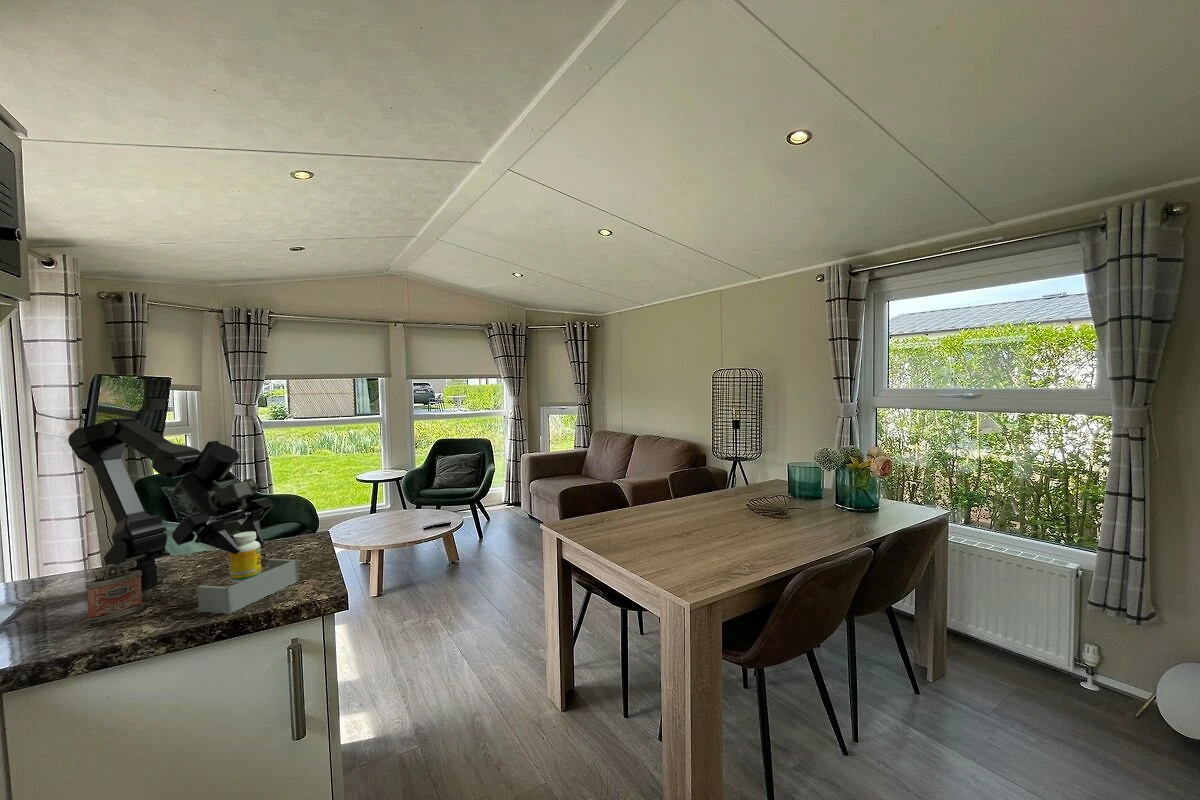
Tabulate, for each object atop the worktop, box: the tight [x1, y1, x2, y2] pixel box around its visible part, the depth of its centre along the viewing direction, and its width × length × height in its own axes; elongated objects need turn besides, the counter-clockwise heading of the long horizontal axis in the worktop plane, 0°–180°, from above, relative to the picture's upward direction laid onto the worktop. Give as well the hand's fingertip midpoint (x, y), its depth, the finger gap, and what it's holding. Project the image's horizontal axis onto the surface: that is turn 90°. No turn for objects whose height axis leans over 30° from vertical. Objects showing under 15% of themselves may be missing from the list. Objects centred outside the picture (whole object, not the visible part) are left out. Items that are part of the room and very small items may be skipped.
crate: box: [197, 558, 300, 615], centre depth 105 cm, size 7×17×5 cm, turn 167°
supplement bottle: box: [228, 531, 262, 584], centre depth 105 cm, size 5×5×10 cm
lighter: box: [85, 560, 144, 624], centre depth 98 cm, size 8×3×10 cm, turn 148°
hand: (250, 548), depth 105 cm, fingers closed on supplement bottle, 5 cm apart
